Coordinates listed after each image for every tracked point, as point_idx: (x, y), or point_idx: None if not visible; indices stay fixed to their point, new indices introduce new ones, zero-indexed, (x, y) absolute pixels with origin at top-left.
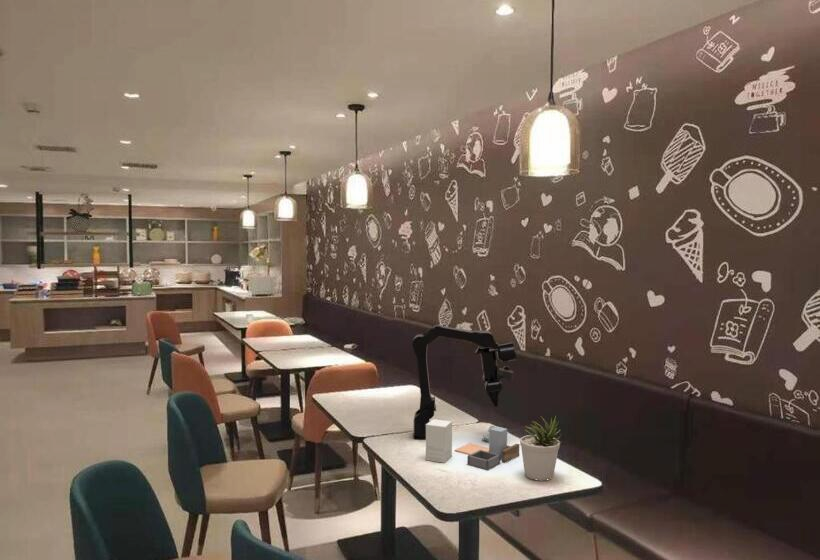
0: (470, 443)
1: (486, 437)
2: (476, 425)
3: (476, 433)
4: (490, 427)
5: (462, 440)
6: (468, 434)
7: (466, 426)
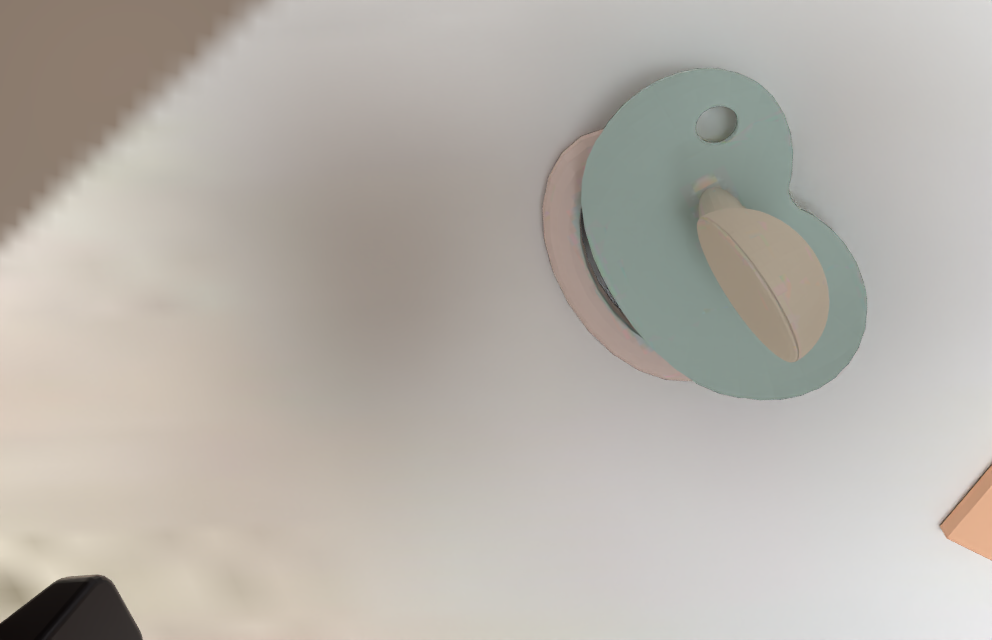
0: (976, 528)
1: (708, 325)
2: (12, 478)
3: (387, 461)
4: (816, 341)
5: (767, 619)
6: (469, 559)
7: None
